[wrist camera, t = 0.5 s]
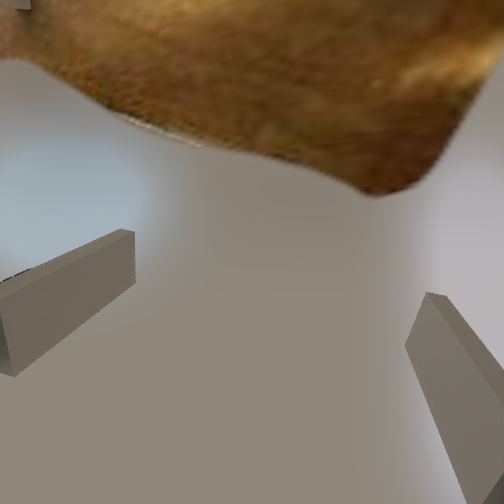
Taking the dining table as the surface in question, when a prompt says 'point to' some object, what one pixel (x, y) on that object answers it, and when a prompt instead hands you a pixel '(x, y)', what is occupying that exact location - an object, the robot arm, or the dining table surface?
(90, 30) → the dining table surface
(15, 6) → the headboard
